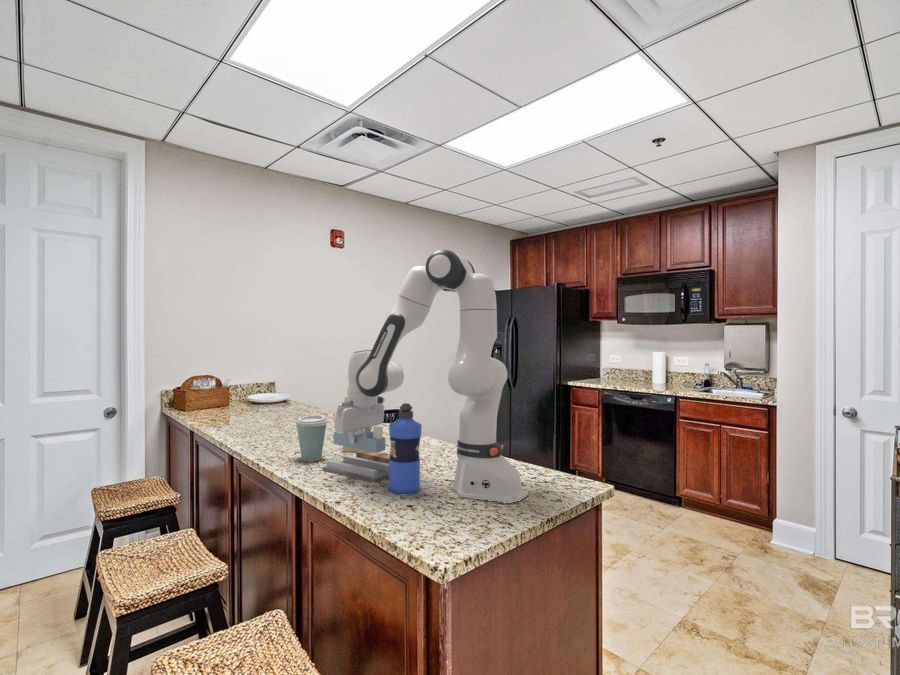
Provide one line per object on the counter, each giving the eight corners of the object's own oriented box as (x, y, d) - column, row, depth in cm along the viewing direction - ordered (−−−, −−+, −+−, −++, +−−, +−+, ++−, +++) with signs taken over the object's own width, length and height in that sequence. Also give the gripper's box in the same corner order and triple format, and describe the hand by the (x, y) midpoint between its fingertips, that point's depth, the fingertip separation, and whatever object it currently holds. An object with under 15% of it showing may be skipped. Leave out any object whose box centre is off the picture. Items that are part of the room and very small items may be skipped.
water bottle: (390, 495, 132) (392, 406, 132) (385, 485, 141) (388, 401, 140) (422, 493, 134) (425, 406, 134) (416, 483, 143) (418, 401, 143)
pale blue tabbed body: (385, 450, 151) (385, 426, 151) (375, 452, 147) (376, 428, 147) (339, 440, 161) (339, 418, 161) (329, 442, 157) (330, 420, 157)
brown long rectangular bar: (409, 466, 163) (409, 458, 163) (401, 470, 158) (401, 461, 158) (365, 457, 173) (365, 449, 173) (356, 460, 168) (356, 452, 168)
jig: (396, 473, 152) (396, 464, 152) (374, 482, 143) (374, 472, 143) (345, 462, 164) (346, 454, 164) (322, 470, 154) (322, 461, 154)
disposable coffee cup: (317, 464, 161) (318, 420, 161) (288, 462, 163) (289, 418, 163) (331, 456, 171) (332, 415, 171) (304, 454, 173) (305, 414, 173)
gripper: (345, 404, 143) (344, 449, 143) (387, 397, 160) (386, 438, 160) (330, 401, 146) (328, 446, 146) (373, 395, 164) (372, 435, 164)
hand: (359, 442), depth 153 cm, fingers closed on pale blue tabbed body, 4 cm apart
